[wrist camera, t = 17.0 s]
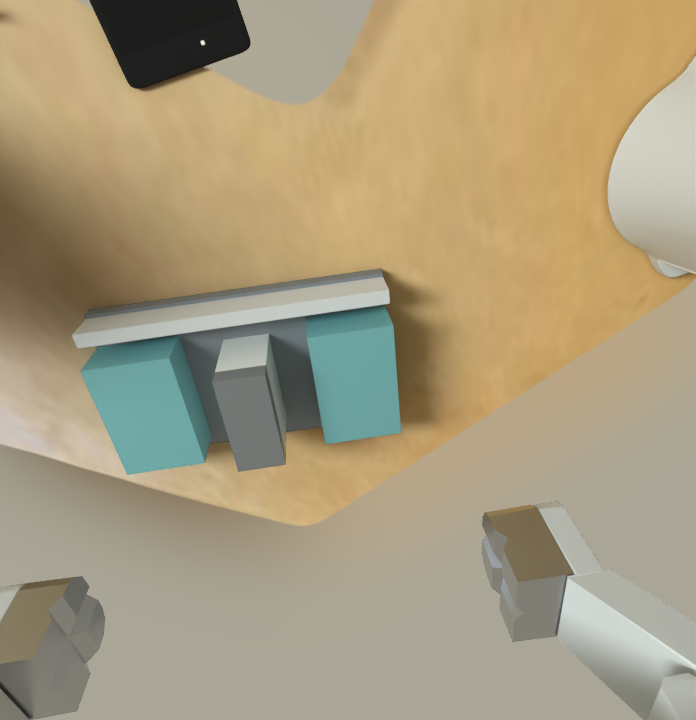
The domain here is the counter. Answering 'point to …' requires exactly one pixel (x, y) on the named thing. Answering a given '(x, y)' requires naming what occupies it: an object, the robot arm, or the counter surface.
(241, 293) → the board
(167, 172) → the counter surface
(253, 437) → the block
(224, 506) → the counter surface
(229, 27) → the cell phone
